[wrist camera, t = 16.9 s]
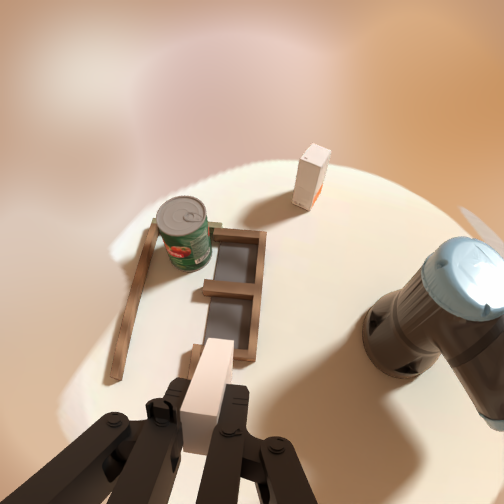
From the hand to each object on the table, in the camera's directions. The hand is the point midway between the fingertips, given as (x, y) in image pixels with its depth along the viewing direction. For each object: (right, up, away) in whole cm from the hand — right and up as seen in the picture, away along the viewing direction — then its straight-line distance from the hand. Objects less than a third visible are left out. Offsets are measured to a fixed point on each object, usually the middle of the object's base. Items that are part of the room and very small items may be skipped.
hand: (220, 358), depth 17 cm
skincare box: (+13, +17, +46) cm, 51 cm away
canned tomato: (-9, +6, +38) cm, 40 cm away
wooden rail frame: (-8, -2, +33) cm, 34 cm away
